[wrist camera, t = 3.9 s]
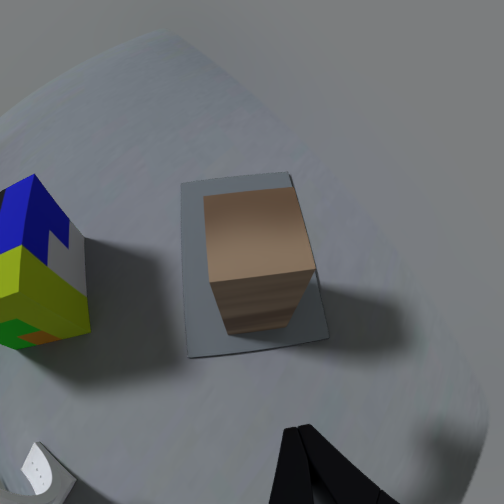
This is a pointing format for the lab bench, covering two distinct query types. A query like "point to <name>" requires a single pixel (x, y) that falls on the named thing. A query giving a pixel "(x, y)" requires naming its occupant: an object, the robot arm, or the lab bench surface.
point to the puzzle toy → (39, 269)
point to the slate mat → (199, 290)
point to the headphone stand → (42, 479)
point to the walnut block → (257, 257)
